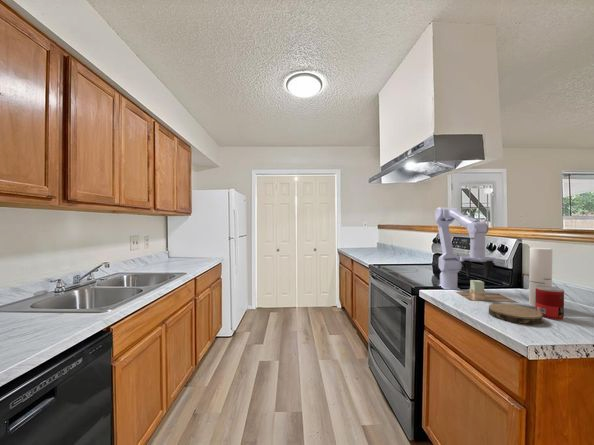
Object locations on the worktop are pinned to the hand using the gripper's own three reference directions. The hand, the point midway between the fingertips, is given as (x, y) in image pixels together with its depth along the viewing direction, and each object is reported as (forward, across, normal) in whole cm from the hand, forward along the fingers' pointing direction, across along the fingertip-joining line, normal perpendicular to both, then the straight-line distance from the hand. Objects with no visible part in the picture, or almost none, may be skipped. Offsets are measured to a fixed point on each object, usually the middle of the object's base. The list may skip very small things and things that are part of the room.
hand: (477, 277), depth 126 cm
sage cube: (+6, 0, 0) cm, 6 cm away
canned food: (+11, +16, -20) cm, 28 cm away
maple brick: (+10, 0, 0) cm, 10 cm away
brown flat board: (+10, +5, +3) cm, 12 cm away
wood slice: (+11, +2, -23) cm, 26 cm away
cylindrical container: (+11, +21, -8) cm, 25 cm away
